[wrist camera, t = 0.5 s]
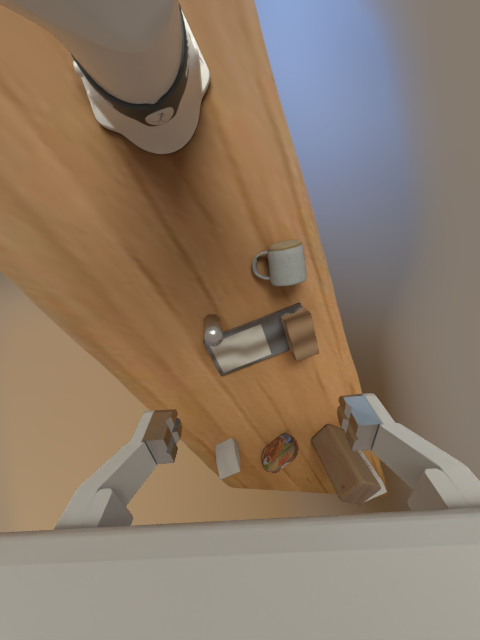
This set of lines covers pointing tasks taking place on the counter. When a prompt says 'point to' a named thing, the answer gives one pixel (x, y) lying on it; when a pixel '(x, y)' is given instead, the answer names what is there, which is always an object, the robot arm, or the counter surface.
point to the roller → (212, 330)
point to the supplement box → (375, 477)
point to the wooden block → (344, 466)
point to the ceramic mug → (284, 263)
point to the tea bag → (227, 458)
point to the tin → (279, 453)
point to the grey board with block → (266, 340)
